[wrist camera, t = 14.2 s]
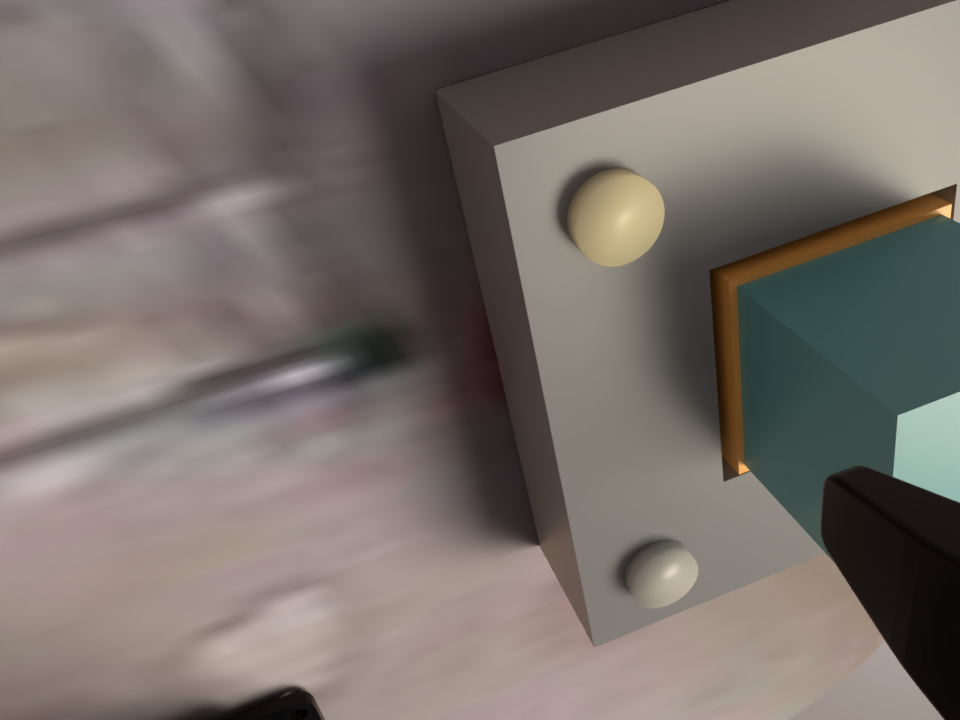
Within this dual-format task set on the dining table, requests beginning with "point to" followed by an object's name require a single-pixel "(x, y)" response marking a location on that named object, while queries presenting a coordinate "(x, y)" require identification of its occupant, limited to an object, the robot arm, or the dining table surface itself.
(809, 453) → the teal cube
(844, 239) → the breaker button
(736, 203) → the breaker panel
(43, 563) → the dining table surface
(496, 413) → the dining table surface
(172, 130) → the dining table surface
